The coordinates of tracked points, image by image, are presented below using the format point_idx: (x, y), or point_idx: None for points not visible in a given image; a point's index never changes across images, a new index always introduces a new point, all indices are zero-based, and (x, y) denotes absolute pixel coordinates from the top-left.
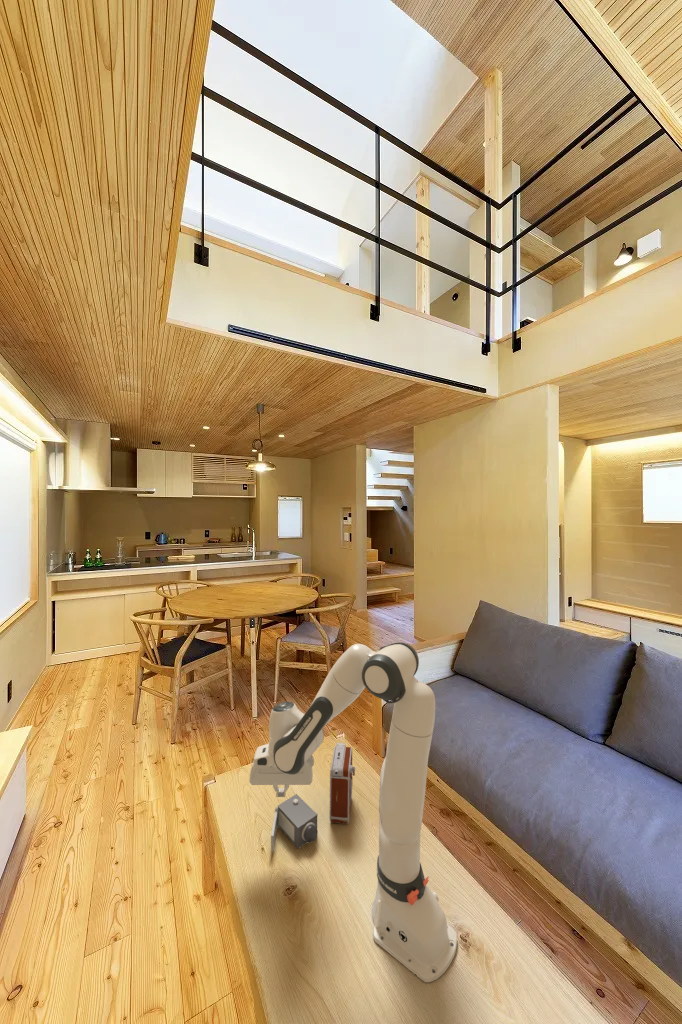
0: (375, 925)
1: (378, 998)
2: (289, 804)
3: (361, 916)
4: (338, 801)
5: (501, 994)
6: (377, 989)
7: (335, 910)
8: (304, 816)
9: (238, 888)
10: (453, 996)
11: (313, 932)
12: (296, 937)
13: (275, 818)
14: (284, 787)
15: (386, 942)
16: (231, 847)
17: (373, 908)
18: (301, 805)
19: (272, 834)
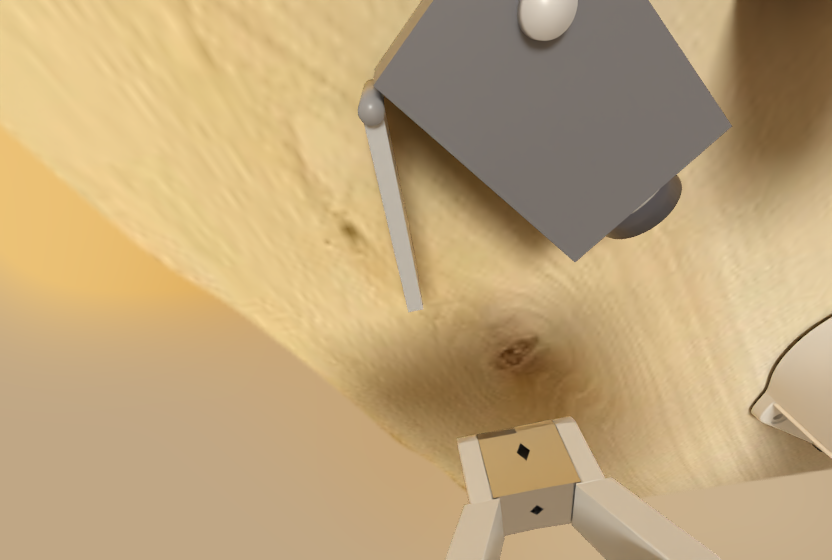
0: (775, 406)
1: (716, 474)
2: (484, 51)
3: (737, 374)
4: None
5: None
6: (719, 466)
7: (663, 375)
8: (623, 164)
9: (331, 379)
10: None
11: (592, 423)
12: None
13: (393, 193)
14: (590, 502)
15: (785, 425)
16: (187, 251)
17: (792, 377)
18: (602, 42)
19: (414, 304)
